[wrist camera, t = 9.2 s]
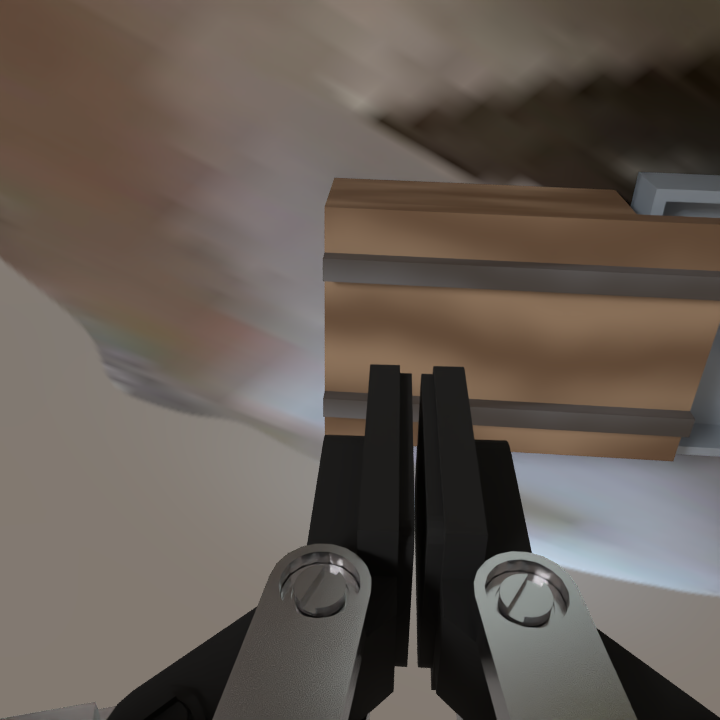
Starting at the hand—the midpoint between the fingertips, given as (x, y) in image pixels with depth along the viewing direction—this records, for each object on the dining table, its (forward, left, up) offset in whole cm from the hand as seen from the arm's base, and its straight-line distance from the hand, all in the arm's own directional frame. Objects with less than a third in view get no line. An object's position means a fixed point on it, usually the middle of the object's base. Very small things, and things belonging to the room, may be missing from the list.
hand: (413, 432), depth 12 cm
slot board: (+10, +6, -26) cm, 29 cm away
